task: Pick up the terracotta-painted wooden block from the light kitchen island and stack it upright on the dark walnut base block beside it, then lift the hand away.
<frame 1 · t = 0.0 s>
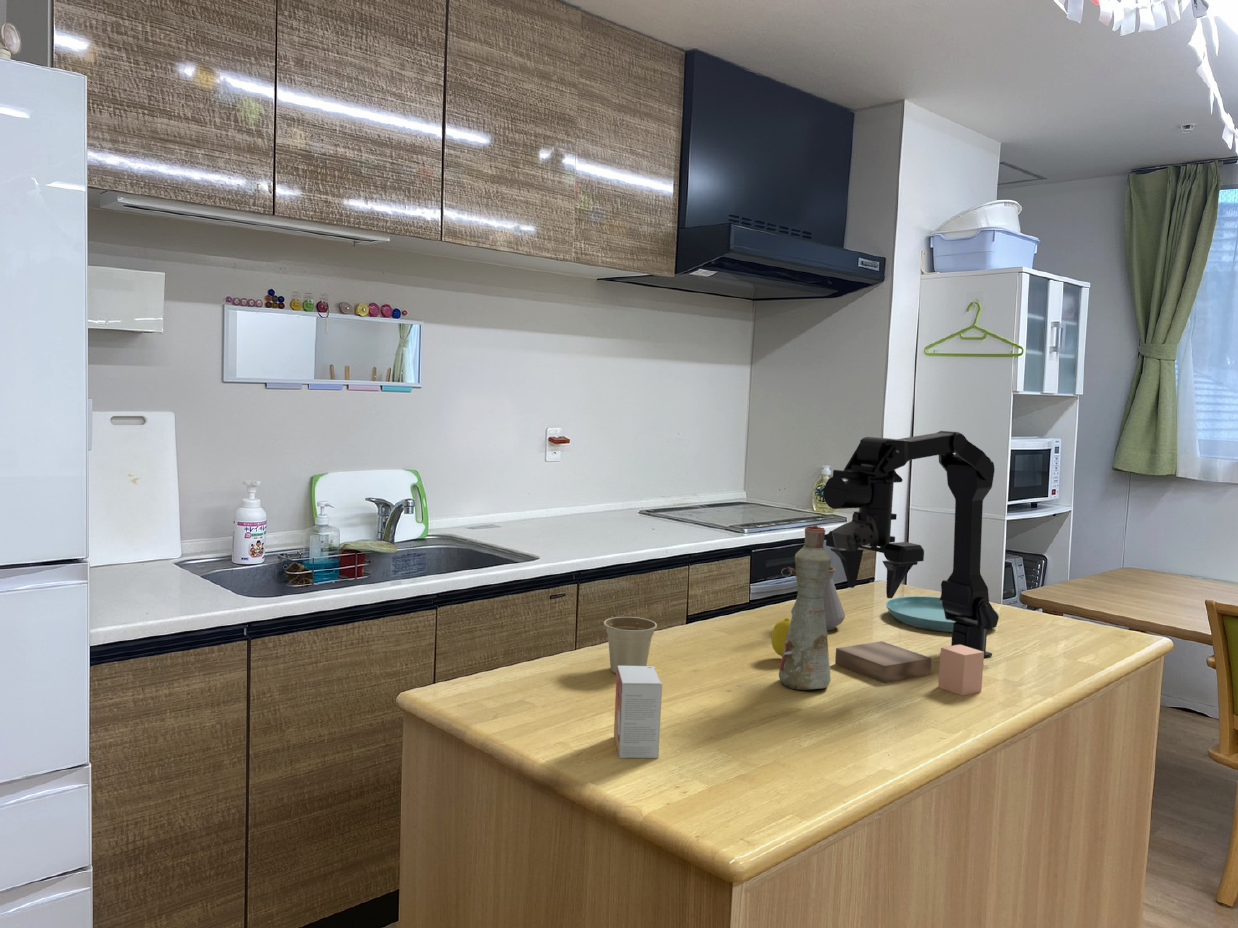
hand: (870, 592, 164), 15 cm above the worktop, fingers open, 9 cm apart
terracotta block: (959, 689, 157), on the worktop
saucer: (940, 623, 206), on the worktop
bottle: (804, 686, 156), on the worktop
walnut base: (882, 668, 167), on the worktop
flower pot: (628, 672, 160), on the worktop
lemon: (785, 660, 171), on the worktop
coffee pot: (806, 631, 194), on the worktop
small box: (635, 748, 126), on the worktop
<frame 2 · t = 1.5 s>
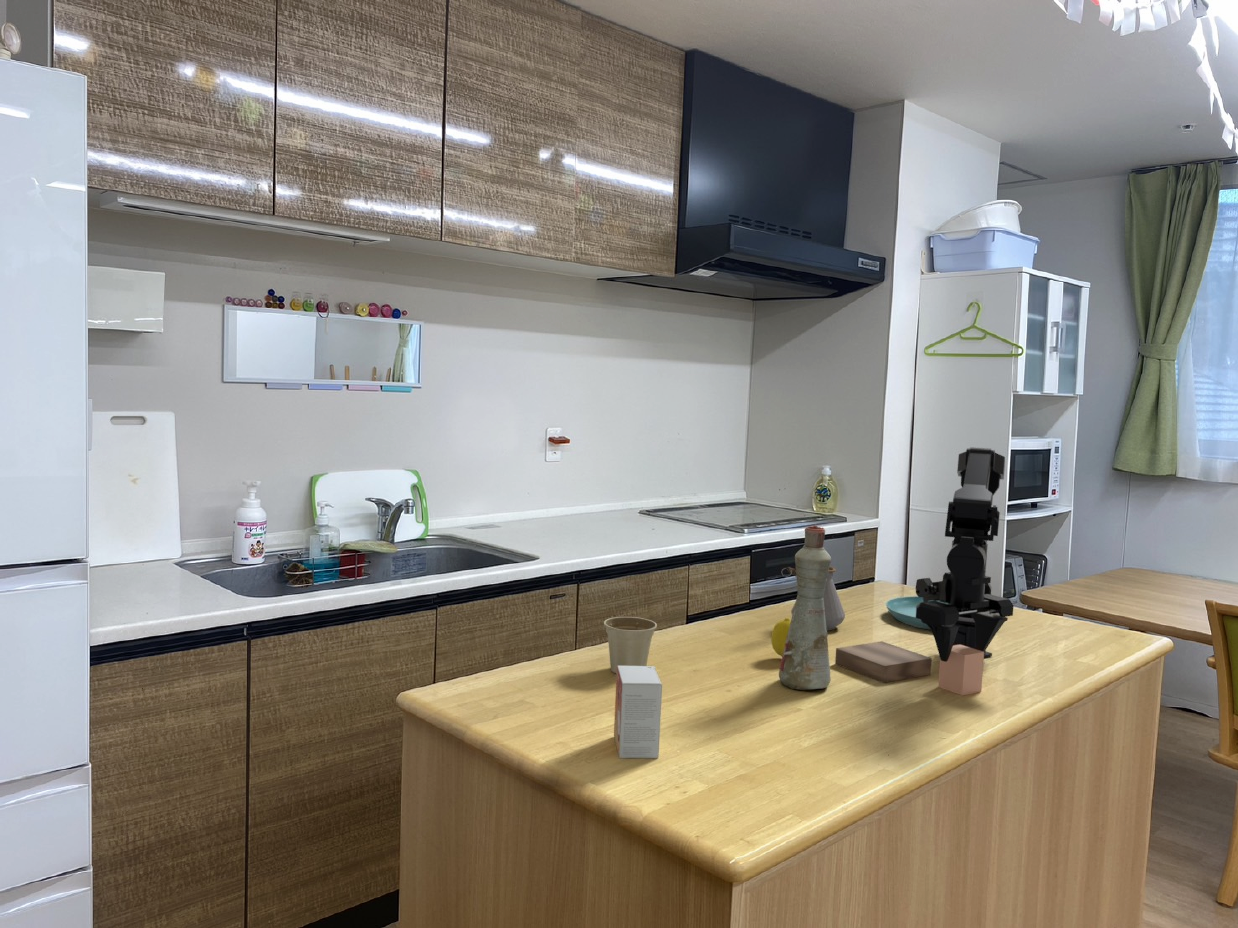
hand: (961, 657, 157), 5 cm above the worktop, fingers open, 9 cm apart
nothing on the worktop moved.
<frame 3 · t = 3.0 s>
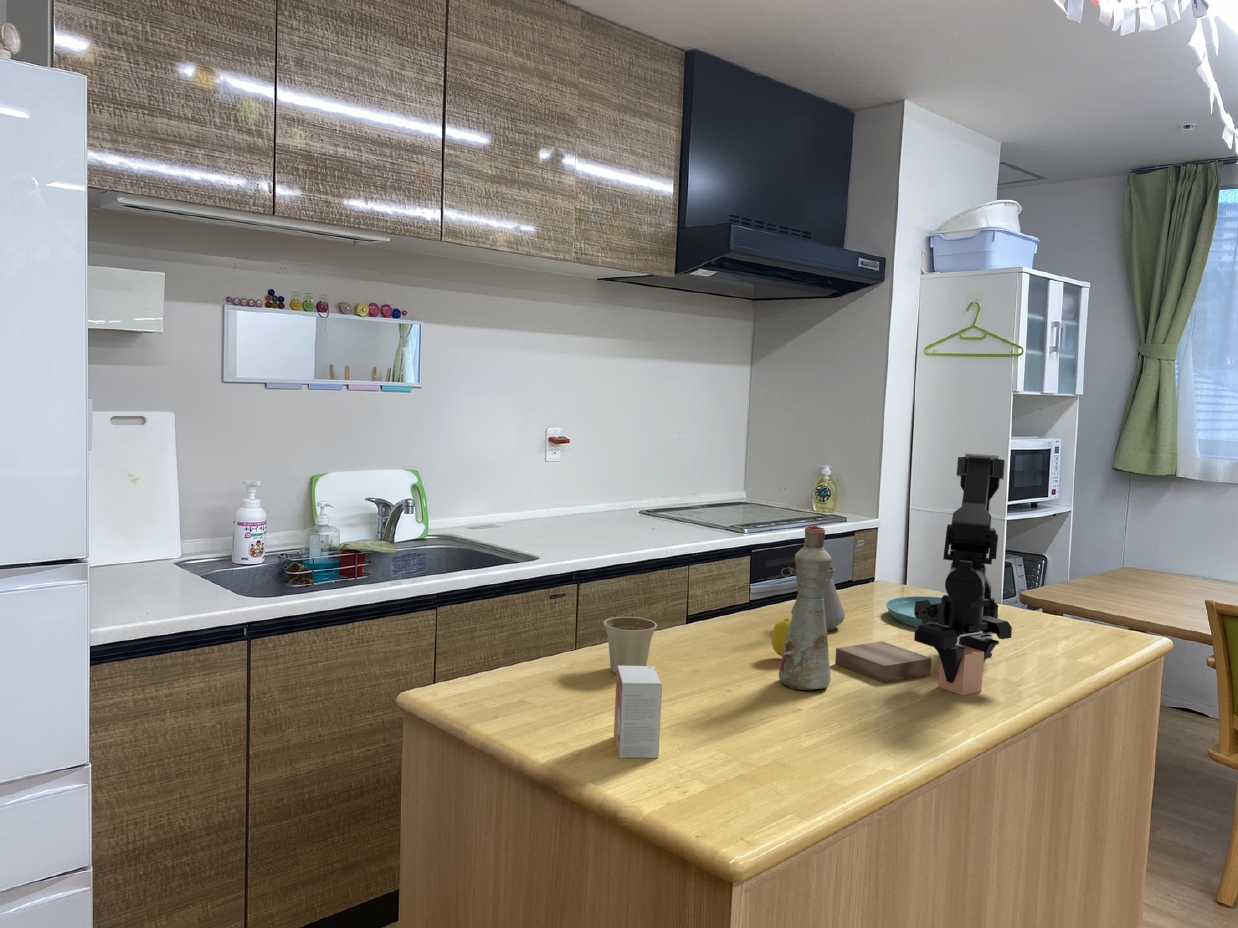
hand: (960, 680, 157), 2 cm above the worktop, fingers closed on terracotta block, 5 cm apart
terracotta block: (959, 688, 157), on the worktop, touching gripper
everything else where it was.
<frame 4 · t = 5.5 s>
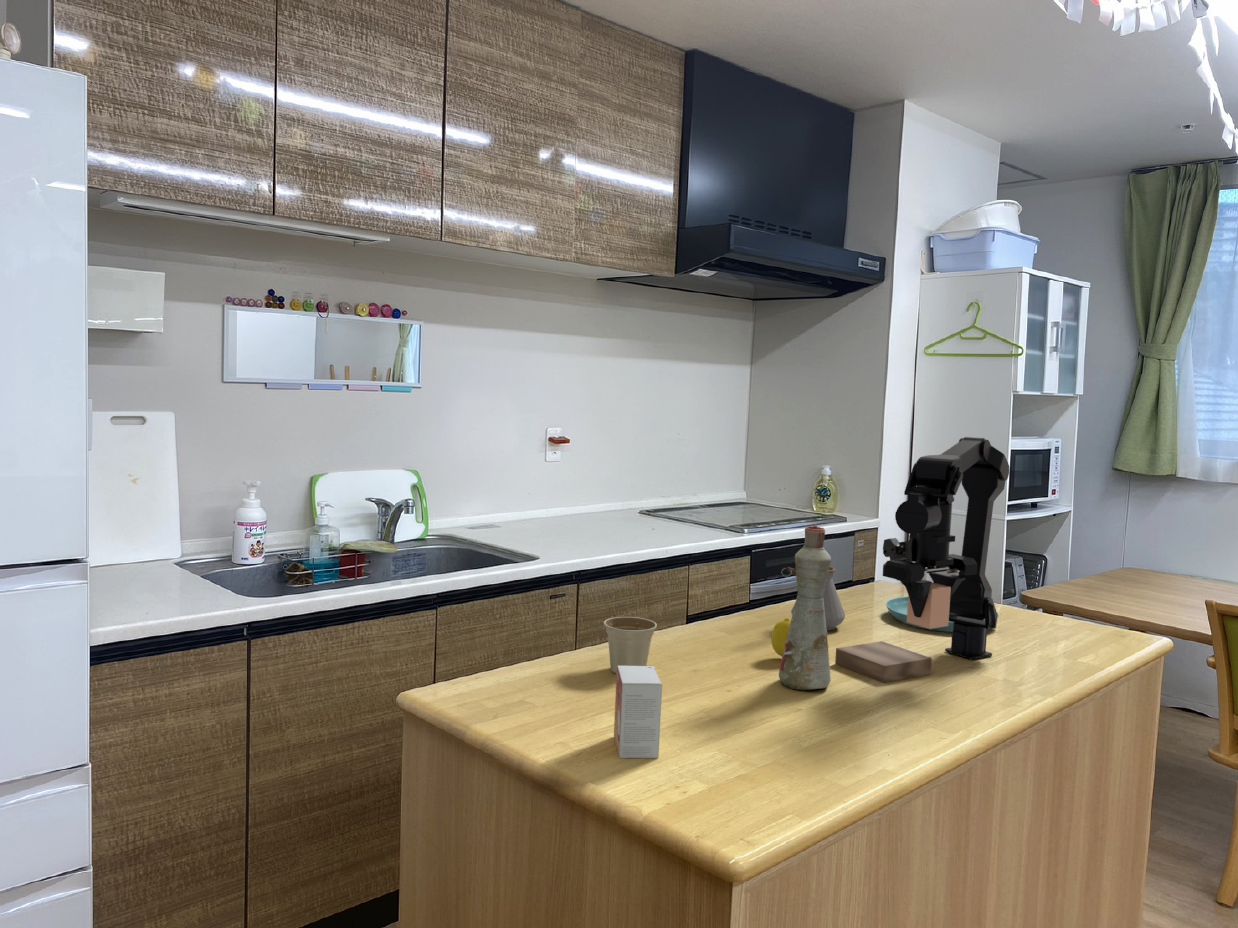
hand: (927, 615, 161), 12 cm above the worktop, fingers closed on terracotta block, 5 cm apart
terracotta block: (927, 624, 161), point 10 cm above the worktop, touching gripper
everything else where it was.
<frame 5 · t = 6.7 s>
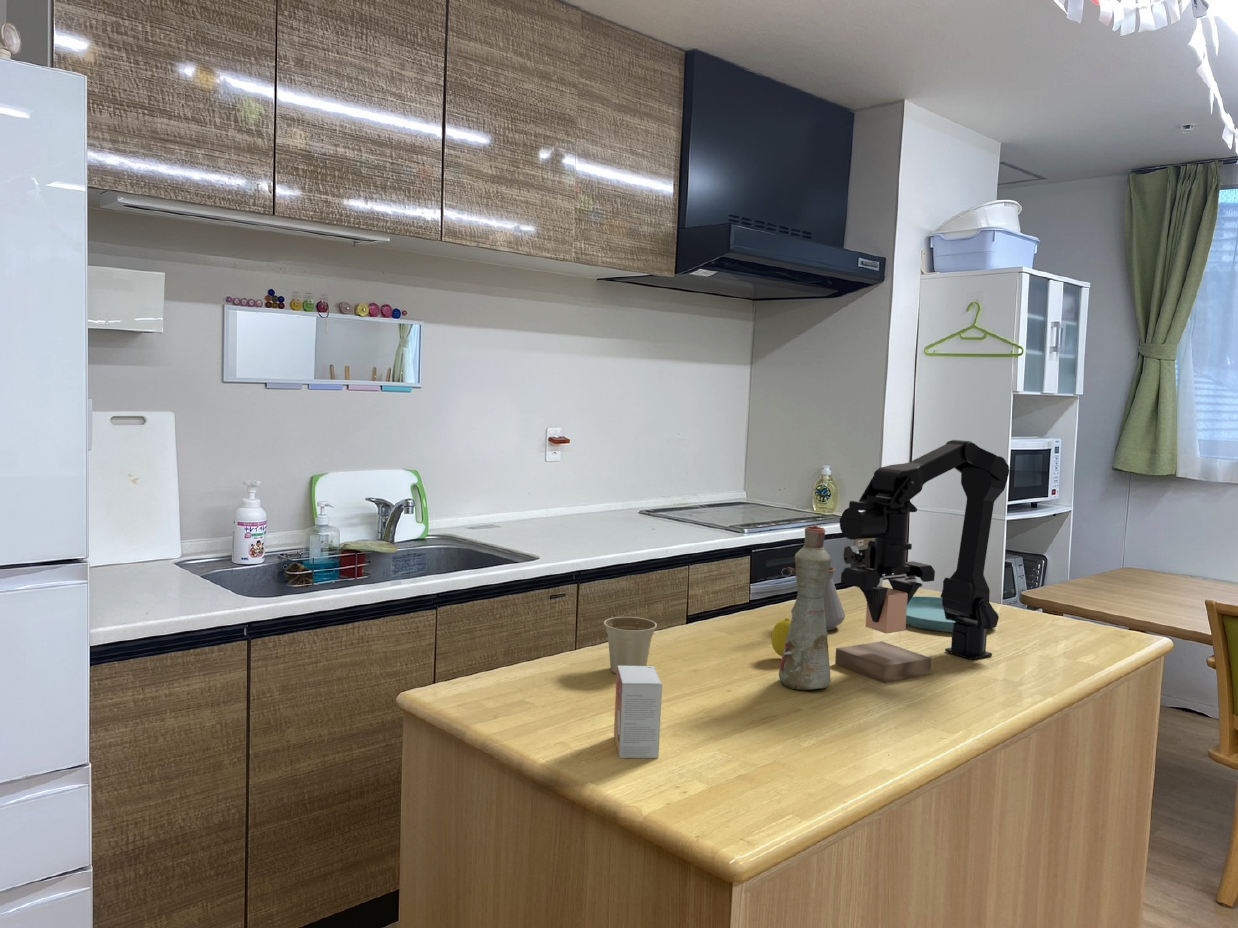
hand: (885, 620, 167), 9 cm above the worktop, fingers closed on terracotta block, 5 cm apart
terracotta block: (885, 628, 167), point 8 cm above the worktop, touching gripper
everything else where it was.
when the fingers open (6 cm above the worktop, at t = 8.0 s): terracotta block drops 1 cm, resting on walnut base.
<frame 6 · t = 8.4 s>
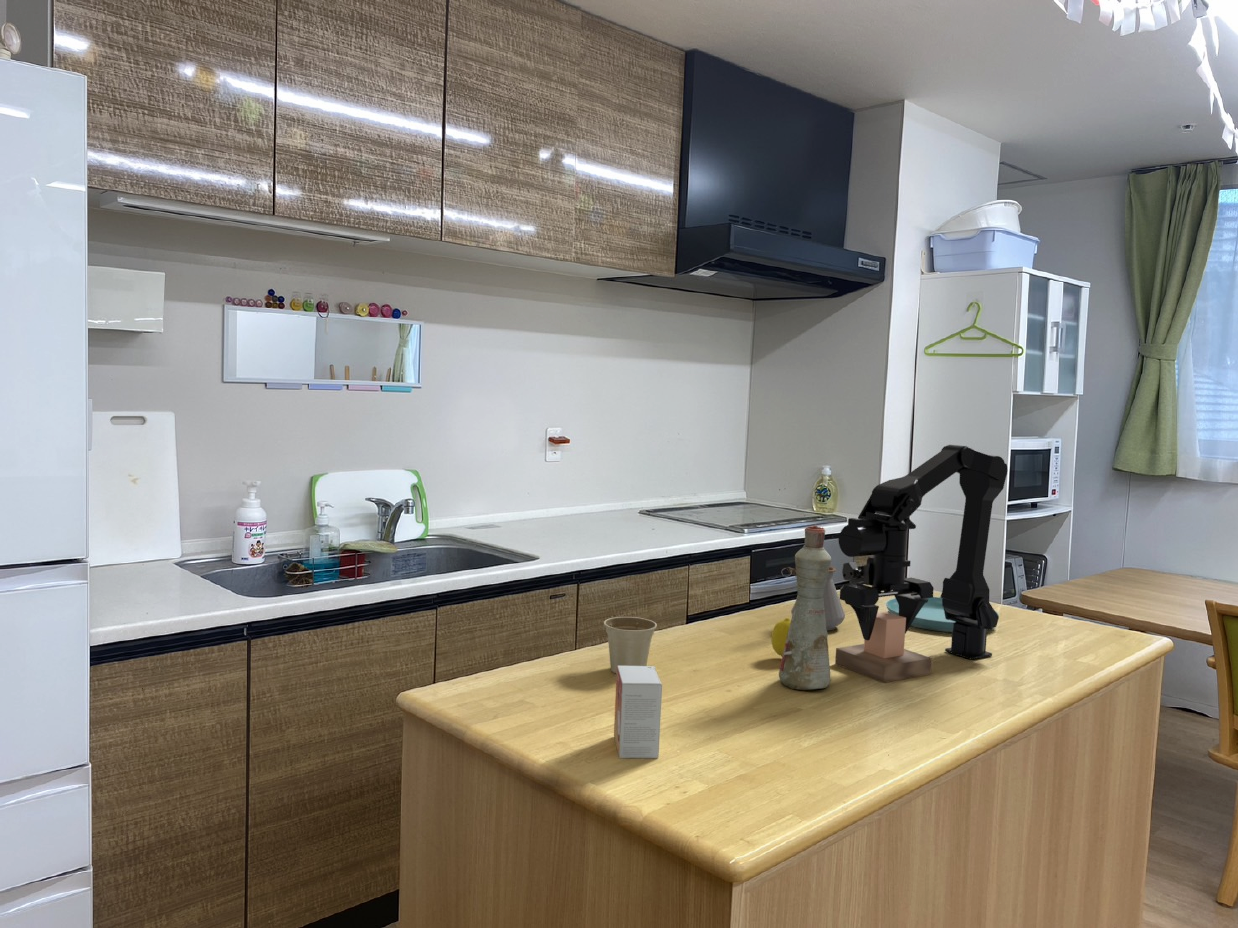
hand: (884, 637, 167), 6 cm above the worktop, fingers open, 9 cm apart
terracotta block: (883, 653, 167), point 3 cm above the worktop, touching walnut base
everything else where it was.
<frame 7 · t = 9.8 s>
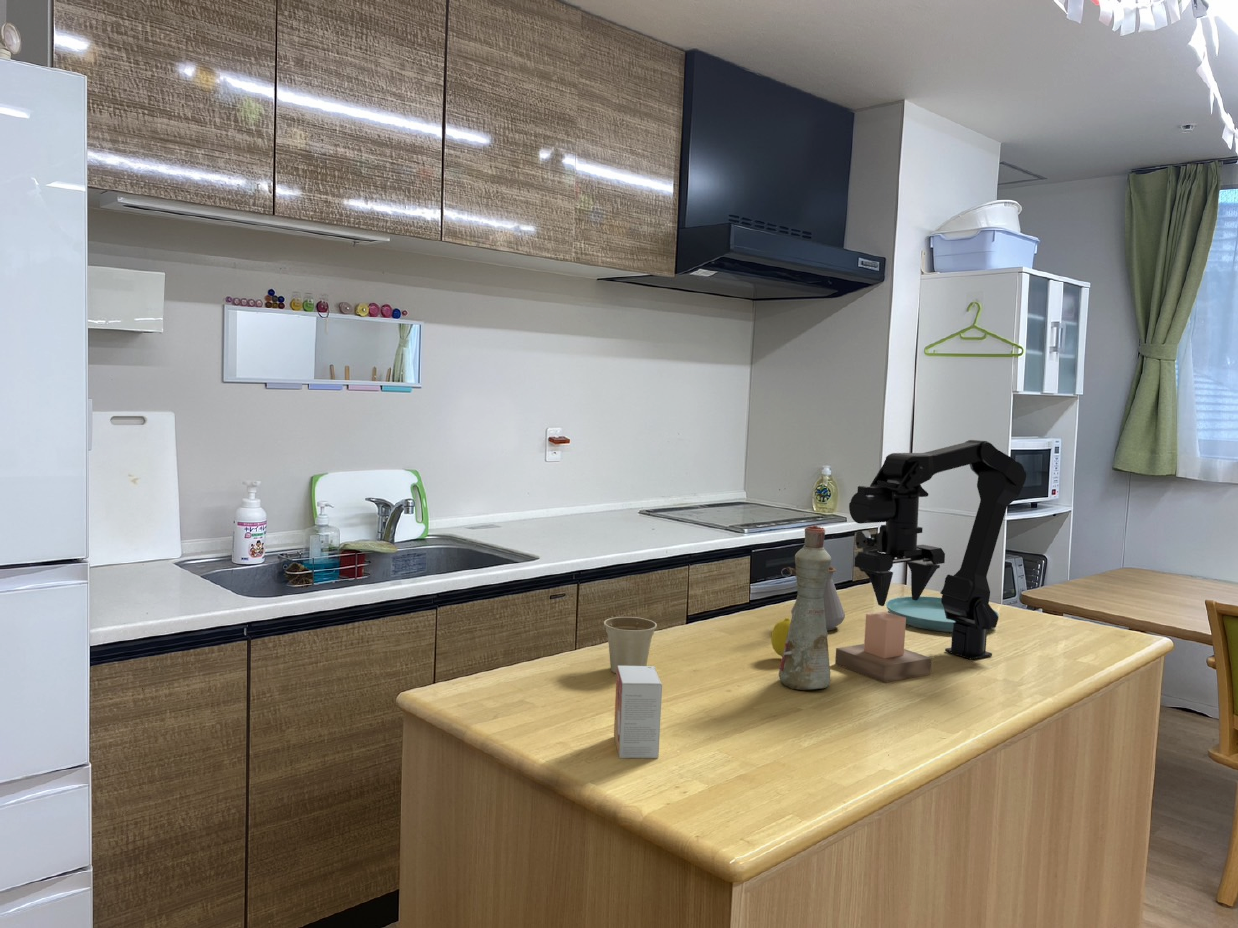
hand: (898, 602, 171), 12 cm above the worktop, fingers open, 9 cm apart
nothing on the worktop moved.
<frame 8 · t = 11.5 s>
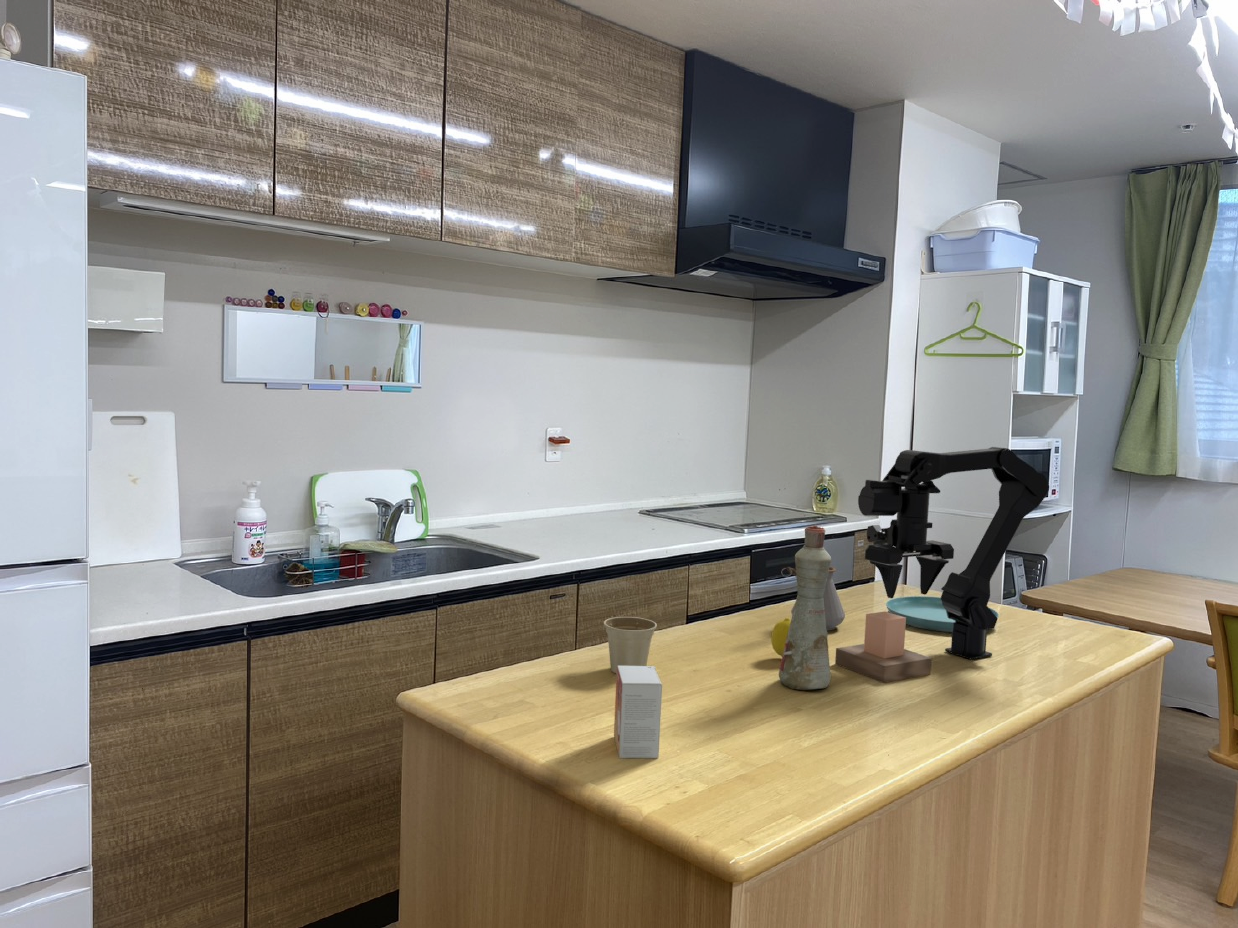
hand: (907, 596, 175), 12 cm above the worktop, fingers open, 9 cm apart
nothing on the worktop moved.
at the end: terracotta block inside the target area on the walnut base (0.0 cm from its centre), point 3.0 cm above the walnut base's base; terracotta block tilted 0°; the gripper is holding nothing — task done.
